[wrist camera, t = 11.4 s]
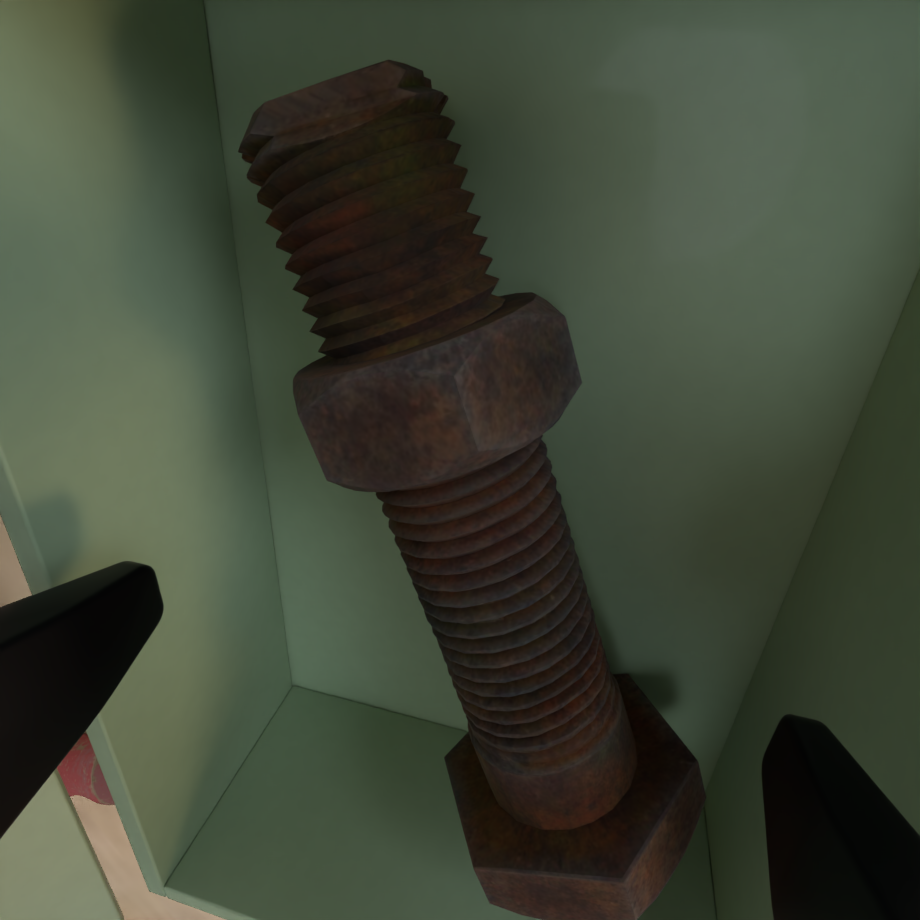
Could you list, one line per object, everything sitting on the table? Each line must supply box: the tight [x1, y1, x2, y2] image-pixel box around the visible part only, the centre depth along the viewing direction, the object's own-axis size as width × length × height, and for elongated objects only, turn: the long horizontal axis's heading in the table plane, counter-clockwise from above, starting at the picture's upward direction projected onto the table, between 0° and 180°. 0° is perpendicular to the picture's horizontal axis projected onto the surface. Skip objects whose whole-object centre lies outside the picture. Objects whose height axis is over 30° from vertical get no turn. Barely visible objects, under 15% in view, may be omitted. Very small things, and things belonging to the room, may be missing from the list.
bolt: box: [238, 59, 706, 920], centre depth 11 cm, size 6×5×15 cm
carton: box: [0, 0, 920, 920], centre depth 11 cm, size 19×14×6 cm
